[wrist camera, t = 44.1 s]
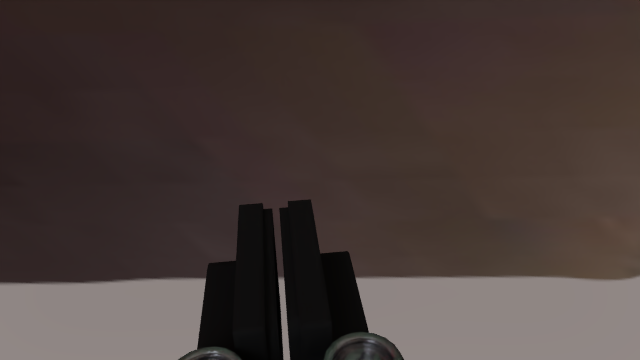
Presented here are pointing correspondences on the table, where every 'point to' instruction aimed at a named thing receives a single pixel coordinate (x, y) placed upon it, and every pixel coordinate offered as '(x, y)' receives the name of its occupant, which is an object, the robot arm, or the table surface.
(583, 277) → the table surface
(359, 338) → the robot arm
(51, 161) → the table surface
